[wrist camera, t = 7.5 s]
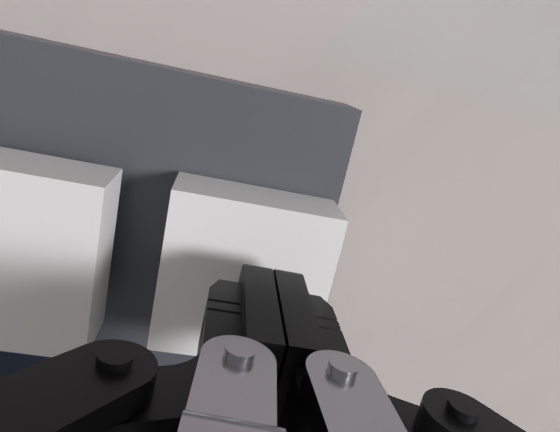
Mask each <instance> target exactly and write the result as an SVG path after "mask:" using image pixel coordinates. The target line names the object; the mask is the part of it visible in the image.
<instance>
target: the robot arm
mask: <svg viewBox="0 0 560 432" xmlns="http://www.w3.org/2000/svg"><path fill="white" fill-rule="evenodd" d="M0 432H526V431H524V430H522V429H521V428H519V427H518V426H516V425H515V424H513V423H512V422H510V421H508V420H507V419H505V418H504V417H502V416H501V415H499V414H498V413H496V412H494V411H493V410H491V409H490V408H488V407H487V406H485V405H484V404H482V403H480V402H479V401H477V400H475V399H474V398H472V397H470V396H468V395H466V394H463V393H461V392H458V391H455V390H451V389H446V388H433V389H430V390H428V391H426V392H425V394H424V395H423V398H422V401H421V403H420V406H418V405H415V404H412V403H409V402H406V401H403V400H401V399H398V398H395V397H392V396H390V395H387V393H386V392H385V390H384V388H383V386H382V384H381V382H380V381H379V379H378V377H377V375H376V374H375V372H374V371H373V370H372V369H371V367H369V366H368V365H367V364H366V363H364V362H363V361H361V360H360V359H358V358H356V357H354V356H352V355H350V352H349V349H348V347H347V344H346V342H345V339H344V336H343V334H342V331H340V326H339V323H338V321H337V318H336V316H335V313H334V311H333V308H332V307H331V306H330V305H329V304H328V303H327V302H326V301H325V300H324V299H323V298H322V297H321V296H316V295H311V294H309V292H308V289H307V285H306V282H305V279H304V276H303V274H300V273H295V272H289V271H283V270H277V269H274V270H273V269H271V268H265V267H260V266H254V265H248V264H243V266H242V269H241V273H240V277H239V281H238V282H233V281H227V280H221V279H219V280H218V281H217V282H215V283H214V284H213V285H212V286H211V287H210V288H209V293H208V298H207V303H206V308H205V313H204V318H203V323H202V328H201V333H200V338H199V343H198V350H197V356H195V357H194V358H192V359H190V360H188V361H186V362H183V363H179V364H175V365H165V366H158V362H157V359H156V357H155V355H154V354H153V353H152V352H151V351H150V350H148V349H147V348H145V347H144V346H142V345H139V344H137V343H134V342H131V341H126V340H118V339H106V340H99V341H94V342H91V343H88V344H85V345H82V346H80V347H77V348H75V349H72V350H70V351H67V352H64V353H62V354H59V355H57V356H54V357H52V358H49V359H47V360H44V361H42V362H39V363H36V364H34V365H31V366H29V367H26V368H24V369H21V370H19V371H16V372H13V373H11V374H8V375H6V376H3V377H1V378H0Z"/></svg>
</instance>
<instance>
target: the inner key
mask: <svg viewBox="0 0 560 432" xmlns="http://www.w3.org/2000/svg"><path fill="white" fill-rule="evenodd" d="M348 222H349V221H348V219H347V218H346V217H345V215H344V214H343V212H342V211H341V210H340V208H339V207H338V205H337V204H336V202H335V201H334V200H331V199H326V198H320V197H315V196H310V195H304V194H299V193H293V192H288V191H282V190H277V189H272V188H266V187H261V186H255V185H250V184H244V183H239V182H234V181H228V180H223V179H217V178H212V177H206V176H201V175H195V174H190V173H185V172H179V173H178V175H177V178H176V180H175V182H174V184H173V187H172V189H171V194H170V201H169V207H168V213H167V220H166V226H165V233H164V239H163V246H162V252H161V259H160V265H159V272H158V278H157V285H156V291H155V298H154V304H153V311H152V317H151V323H150V330H149V336H148V343H147V349H148V350H152V351H160V352H168V353H175V354H183V355H191V356H197V350H198V343H199V338H200V333H201V328H202V323H203V318H204V313H205V308H206V303H207V298H208V293H209V288H210V287H211V286H212V285H213V284H214V283H215V282H217V281H218V280H219V279H221V280H227V281H233V282H238V281H239V277H240V273H241V269H242V266H243V264H248V265H254V266H260V267H265V268H271V269H273V270H274V269H277V270H283V271H289V272H295V273H300V274H303V276H304V279H305V282H306V285H307V289H308V292H309V294H311V295H316V296H321V297H322V298H323V299H324V300H325V301H326V302H327V301H328V297H329V293H330V290H331V286H332V282H333V278H334V275H335V271H336V267H337V263H338V259H339V256H340V252H341V248H342V244H343V241H344V237H345V233H346V229H347V226H348Z"/></svg>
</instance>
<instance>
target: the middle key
mask: <svg viewBox="0 0 560 432" xmlns="http://www.w3.org/2000/svg"><path fill="white" fill-rule="evenodd" d="M122 170H123V169H121V168H116V167H110V166H105V165H99V164H94V163H88V162H83V161H77V160H72V159H66V158H61V157H55V156H50V155H44V154H39V153H33V152H28V151H22V150H17V149H11V148H6V147H0V351H5V352H13V353H21V354H29V355H37V356H45V357H54V356H57V355H59V354H62V353H64V352H67V351H70V350H72V349H75V348H77V347H80V346H82V345H85V344H88V343H91V342H94V341H95V339H96V337H97V334H98V332H99V330H100V328H101V326H102V324H103V322H104V315H105V307H106V299H107V291H108V283H109V275H110V267H111V259H112V251H113V243H114V235H115V227H116V219H117V211H118V203H119V195H120V187H121V179H122Z"/></svg>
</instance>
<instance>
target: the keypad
mask: <svg viewBox="0 0 560 432" xmlns="http://www.w3.org/2000/svg"><path fill="white" fill-rule="evenodd" d="M361 112H362V111H361V110H359V109H357V108H354V107H352V106H350V105H347V104H344V103H339V102H334V101H330V100H325V99H320V98H316V97H311V96H306V95H302V94H297V93H292V92H288V91H283V90H279V89H274V88H269V87H265V86H260V85H255V84H251V83H246V82H241V81H237V80H232V79H227V78H223V77H218V76H214V75H209V74H204V73H200V72H195V71H190V70H186V69H181V68H176V67H172V66H167V65H162V64H158V63H153V62H148V61H144V60H139V59H135V58H130V57H125V56H121V55H116V54H111V53H107V52H102V51H97V50H93V49H88V48H83V47H79V46H74V45H70V44H65V43H60V42H56V41H51V40H46V39H42V38H37V37H32V36H28V35H23V34H18V33H14V32H9V31H4V30H0V147H6V148H11V149H17V150H22V151H28V152H33V153H39V154H44V155H50V156H55V157H61V158H66V159H72V160H77V161H83V162H88V163H94V164H99V165H105V166H110V167H116V168H121V169H123V170H122V179H121V187H120V195H119V203H118V211H117V219H116V227H115V235H114V243H113V251H112V259H111V267H110V275H109V283H108V291H107V299H106V307H105V315H104V322H103V324H102V326H101V328H100V330H99V332H98V334H97V337H96V339H95V341H99V340H106V339H118V340H126V341H131V342H134V343H137V344H139V345H142V346H144V347H145V348H147V343H148V336H149V330H150V323H151V317H152V311H153V304H154V298H155V291H156V285H157V278H158V272H159V265H160V259H161V252H162V246H163V239H164V233H165V226H166V220H167V213H168V207H169V201H170V194H171V189H172V187H173V184H174V182H175V180H176V178H177V175H178V173H179V172H185V173H190V174H195V175H201V176H206V177H212V178H217V179H223V180H228V181H234V182H239V183H244V184H250V185H255V186H261V187H266V188H272V189H277V190H282V191H288V192H293V193H299V194H304V195H310V196H315V197H320V198H326V199H331V200H334V201H335V202H336V204H337V205H338V202H339V198H340V194H341V190H342V186H343V183H344V179H345V175H346V171H347V167H348V163H349V159H350V155H351V151H352V147H353V144H354V140H355V136H356V132H357V128H358V124H359V120H360V116H361ZM150 351H151V352H152V353H153V354H154V355H155V357H156V359H157V362H158V366H165V365H175V364H179V363H183V362H186V361H188V360H190V359H192V358H194V357H195V356H191V355H183V354H175V353H168V352H160V351H152V350H150ZM49 358H52V357H45V356H37V355H29V354H21V353H13V352H5V351H0V378H1V377H3V376H6V375H8V374H11V373H13V372H16V371H19V370H21V369H24V368H26V367H29V366H31V365H34V364H36V363H39V362H42V361H44V360H47V359H49Z"/></svg>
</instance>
